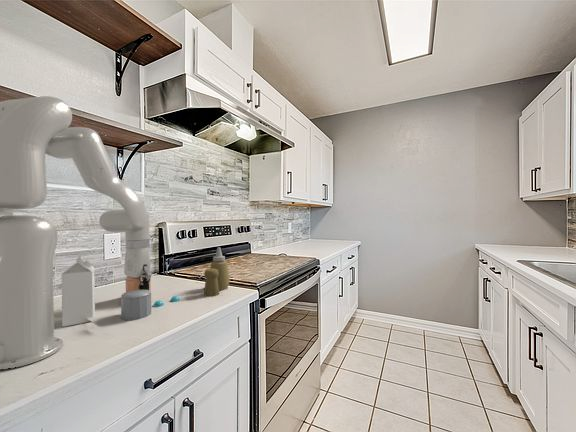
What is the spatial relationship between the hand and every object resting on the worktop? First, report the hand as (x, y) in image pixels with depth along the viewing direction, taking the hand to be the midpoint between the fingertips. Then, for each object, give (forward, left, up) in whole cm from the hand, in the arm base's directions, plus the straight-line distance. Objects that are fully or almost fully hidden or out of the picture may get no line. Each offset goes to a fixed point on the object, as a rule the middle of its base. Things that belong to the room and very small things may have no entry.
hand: (138, 293), depth 96 cm
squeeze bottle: (+25, -14, -4) cm, 29 cm away
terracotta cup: (0, 0, -2) cm, 2 cm away
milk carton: (-18, -2, -4) cm, 18 cm away
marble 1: (0, -13, -2) cm, 13 cm away
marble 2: (+6, -13, -2) cm, 15 cm away
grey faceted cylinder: (-8, -16, -3) cm, 18 cm away
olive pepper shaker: (+18, -18, -4) cm, 26 cm away
